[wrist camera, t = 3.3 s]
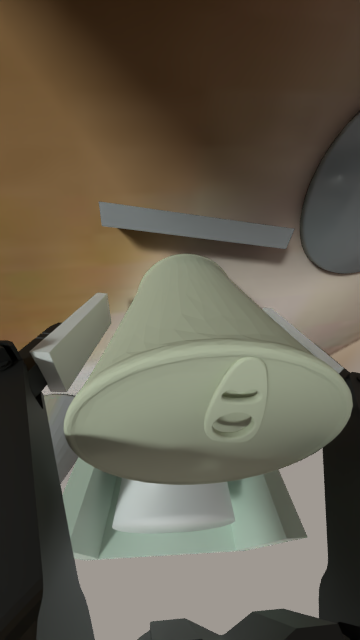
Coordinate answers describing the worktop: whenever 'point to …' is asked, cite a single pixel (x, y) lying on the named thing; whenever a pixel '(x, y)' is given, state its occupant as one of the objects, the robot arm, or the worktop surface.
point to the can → (202, 386)
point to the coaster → (335, 206)
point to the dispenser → (178, 500)
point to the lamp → (60, 432)
